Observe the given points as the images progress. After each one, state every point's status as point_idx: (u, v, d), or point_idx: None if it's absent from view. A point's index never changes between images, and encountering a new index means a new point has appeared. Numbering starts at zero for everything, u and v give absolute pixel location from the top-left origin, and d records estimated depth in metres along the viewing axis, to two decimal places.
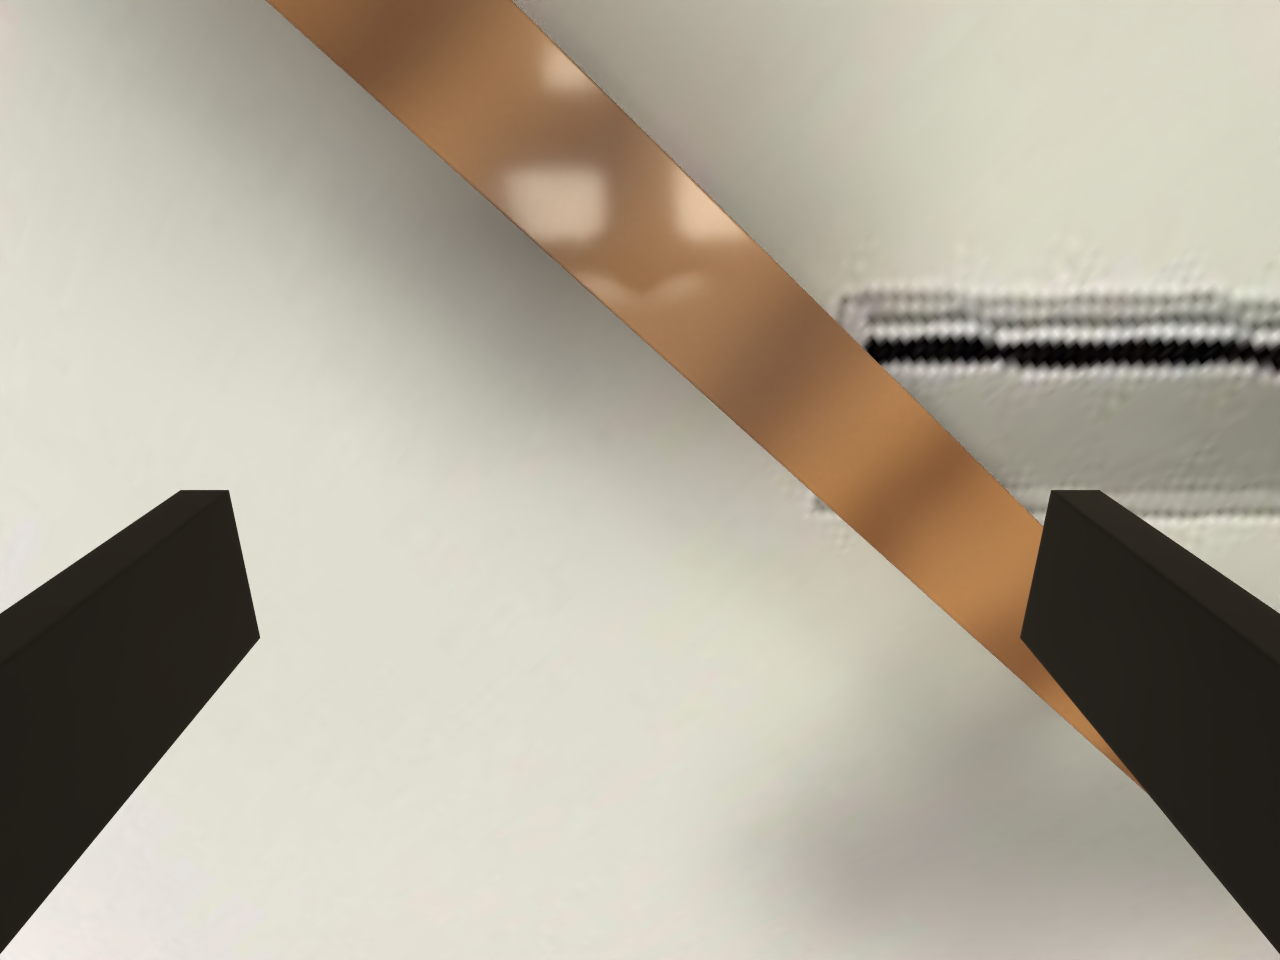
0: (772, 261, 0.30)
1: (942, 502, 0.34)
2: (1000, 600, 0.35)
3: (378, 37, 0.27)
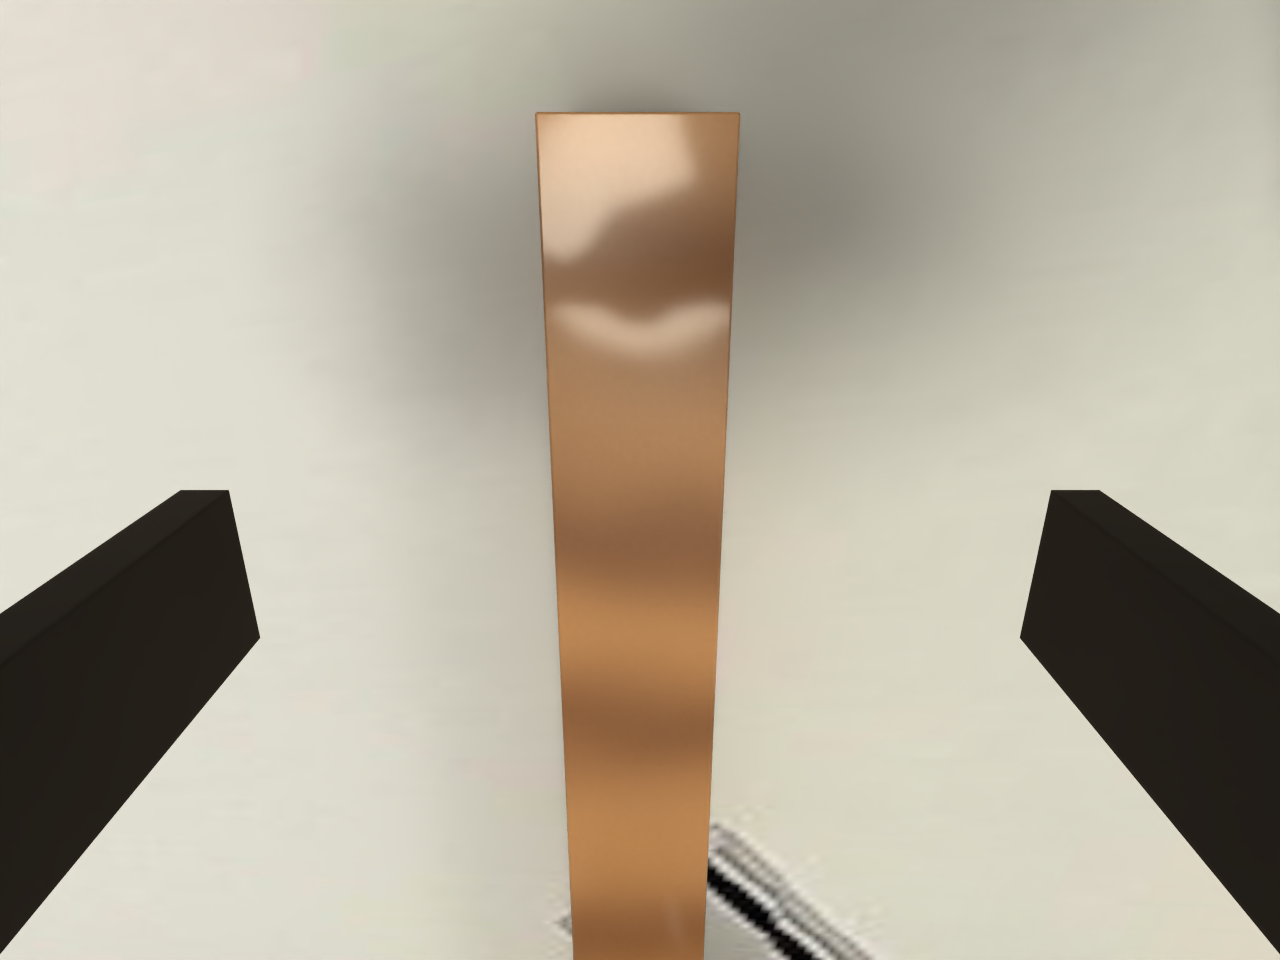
0: (705, 879, 0.32)
1: None
2: None
3: (603, 538, 0.26)
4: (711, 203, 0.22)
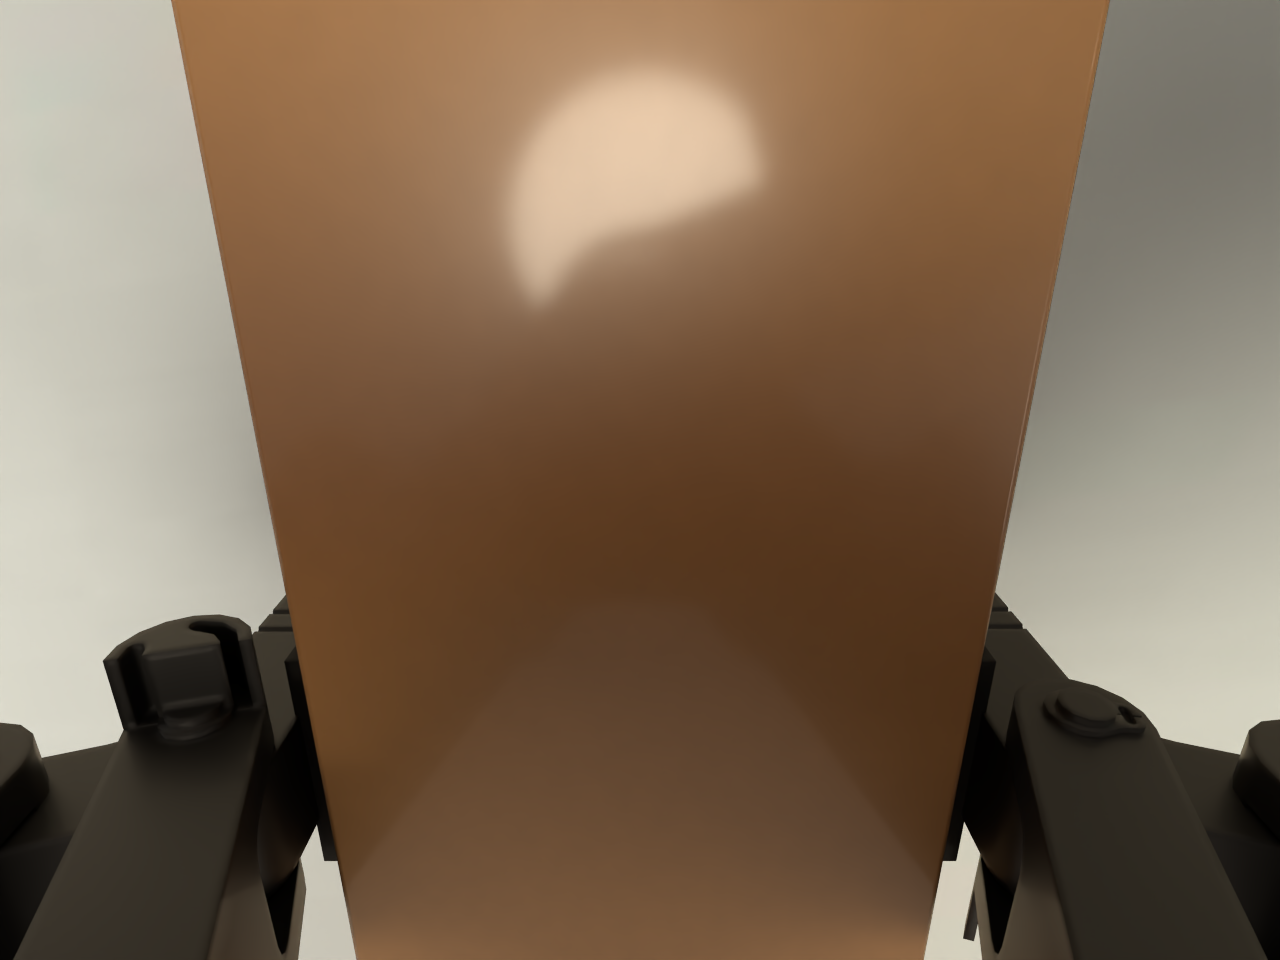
0: None
1: None
2: None
3: None
4: (951, 295, 0.05)
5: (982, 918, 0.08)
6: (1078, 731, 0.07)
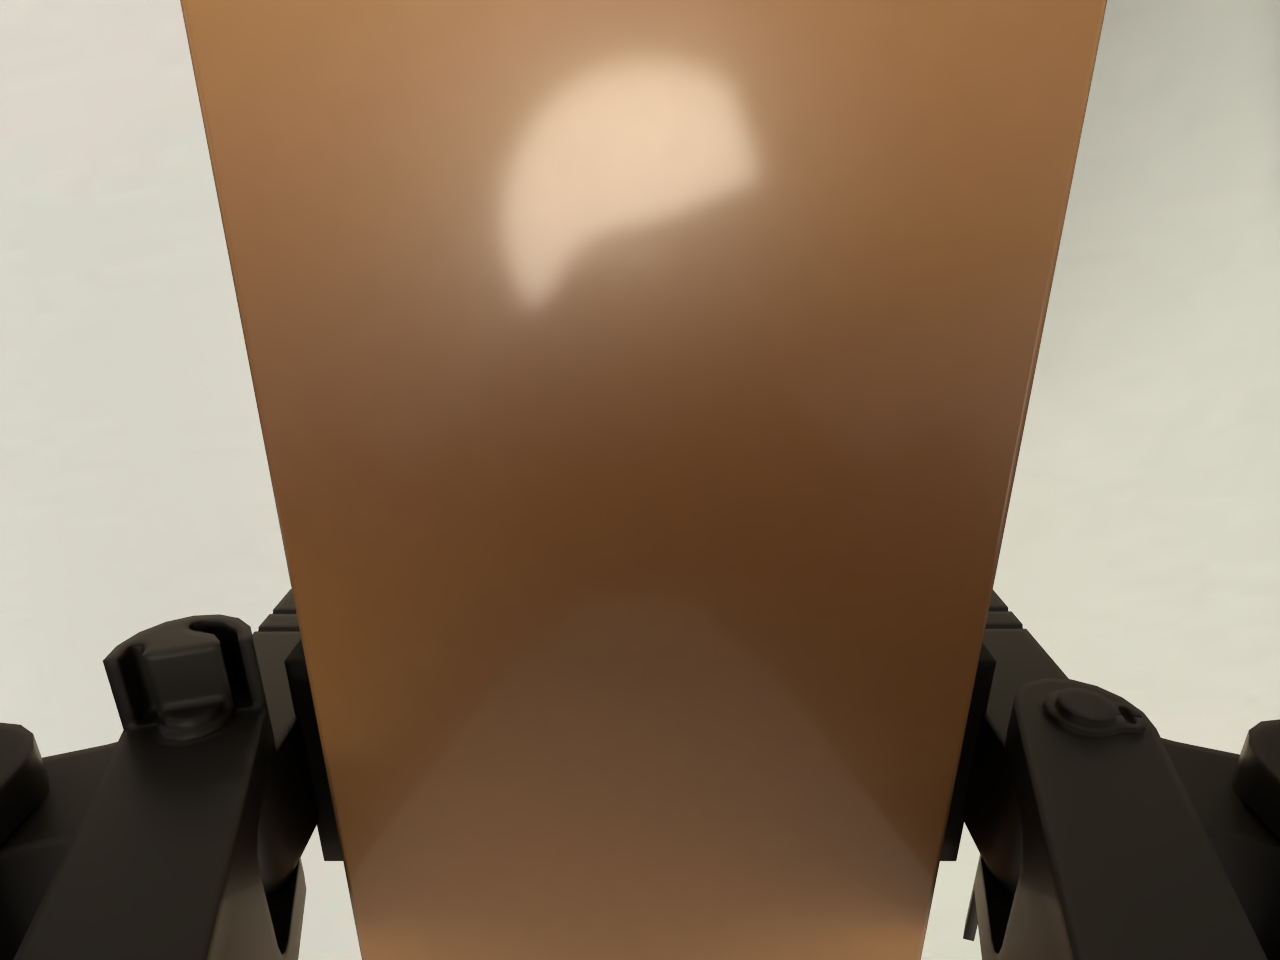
0: None
1: None
2: None
3: None
4: (950, 300, 0.05)
5: (982, 918, 0.08)
6: (1079, 731, 0.07)
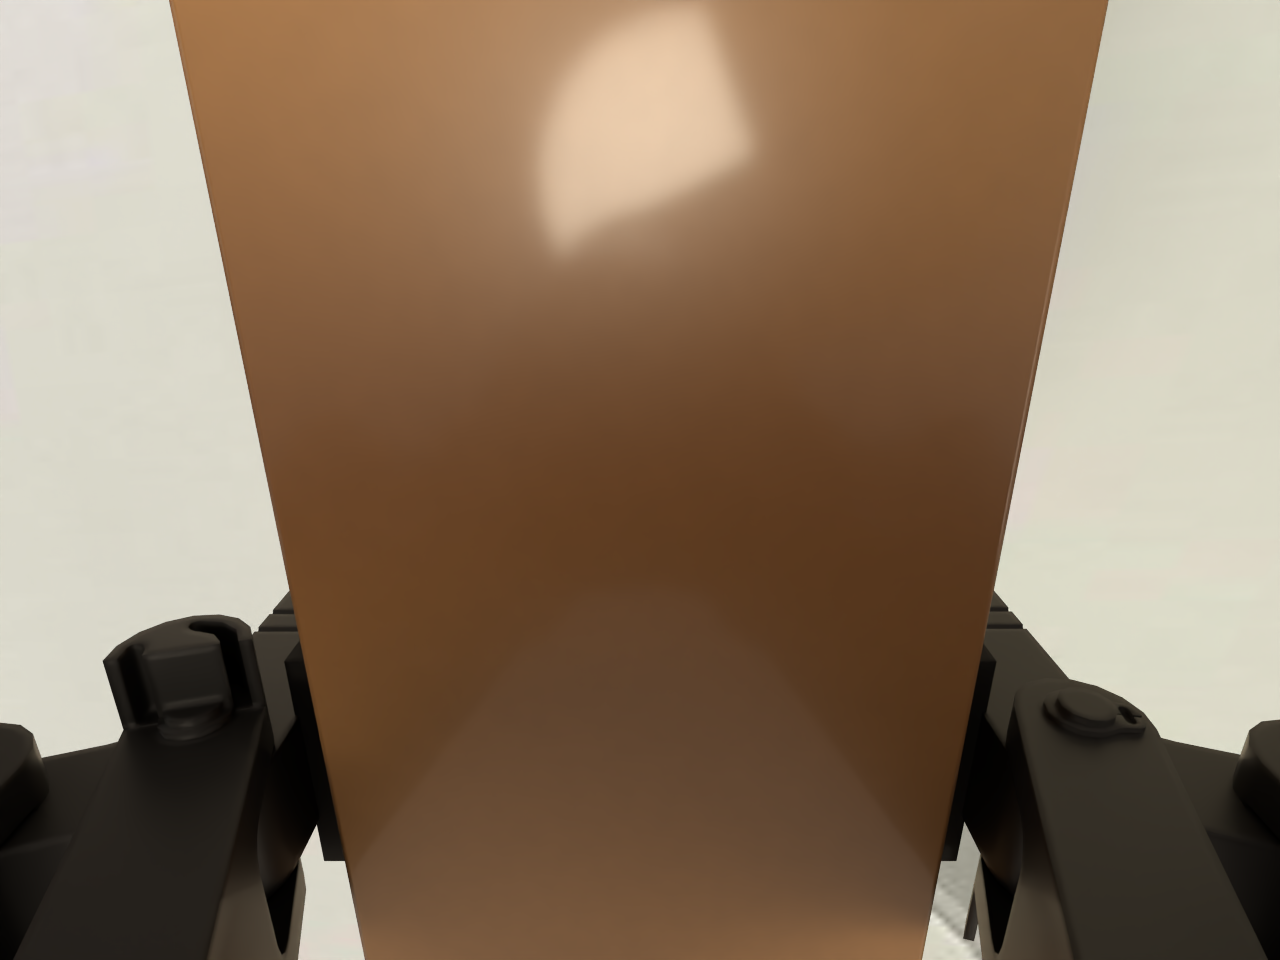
0: None
1: None
2: None
3: None
4: (949, 301, 0.05)
5: (982, 918, 0.08)
6: (1080, 731, 0.07)
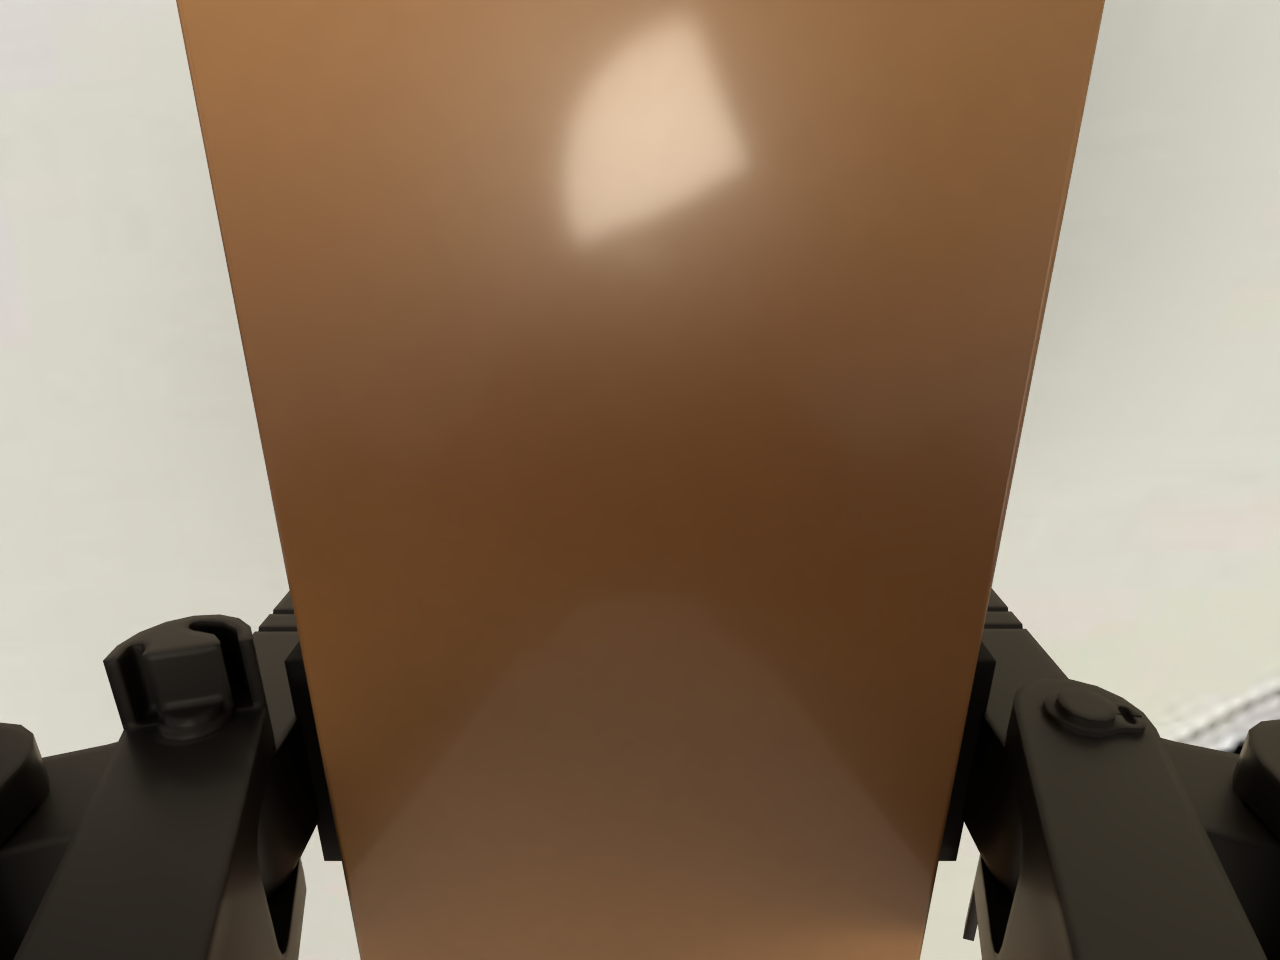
0: None
1: None
2: None
3: None
4: (949, 300, 0.05)
5: (982, 918, 0.08)
6: (1079, 730, 0.07)
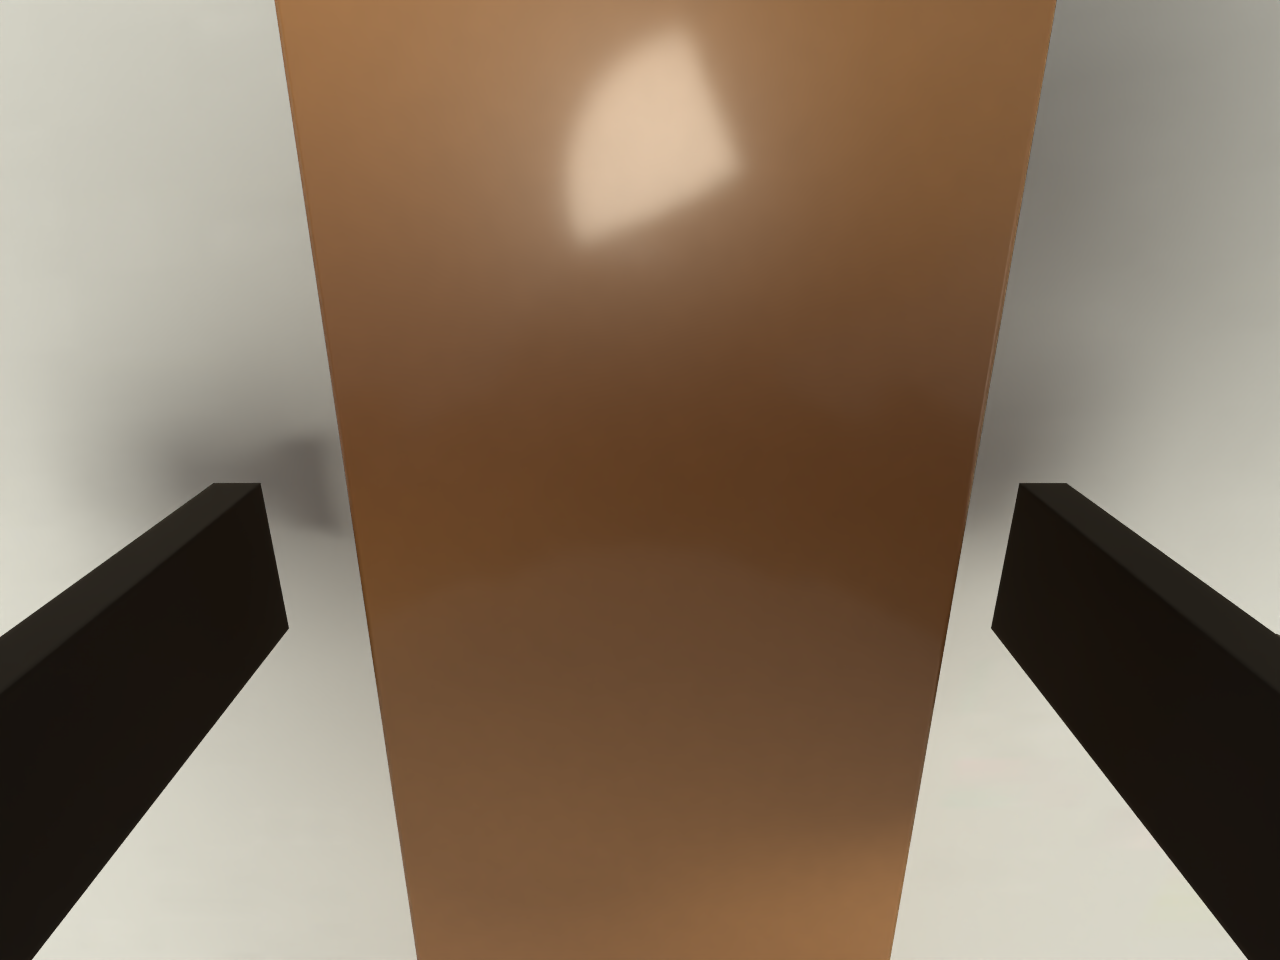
0: None
1: None
2: None
3: None
4: (924, 276, 0.06)
5: None
6: None
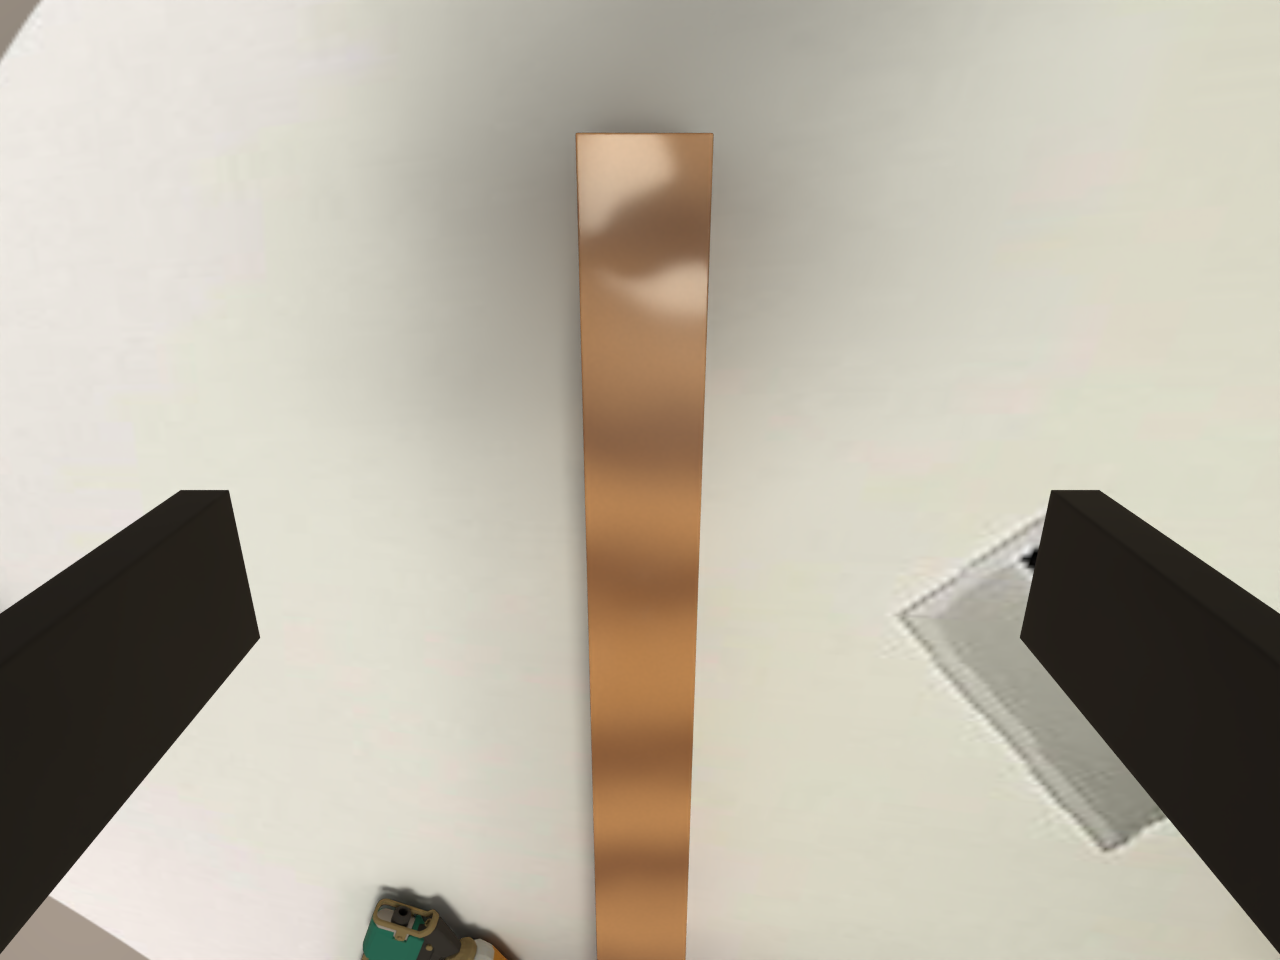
0: (692, 707, 0.42)
1: (651, 879, 0.47)
2: (629, 945, 0.49)
3: (618, 435, 0.37)
4: (694, 195, 0.33)
5: None
6: None
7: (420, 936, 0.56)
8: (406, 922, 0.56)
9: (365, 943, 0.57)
